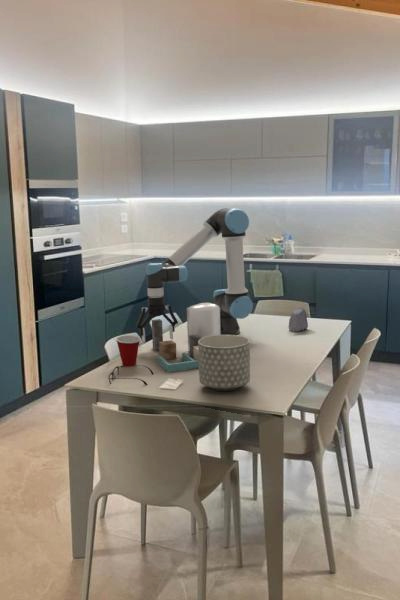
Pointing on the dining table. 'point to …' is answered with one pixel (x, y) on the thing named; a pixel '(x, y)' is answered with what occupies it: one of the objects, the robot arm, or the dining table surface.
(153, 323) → the block
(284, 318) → the dining table surface
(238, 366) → the planter
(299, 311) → the stone
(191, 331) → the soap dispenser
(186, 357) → the teal tray
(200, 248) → the robot arm
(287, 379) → the dining table surface
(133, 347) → the plastic cup
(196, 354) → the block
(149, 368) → the eyeglasses
